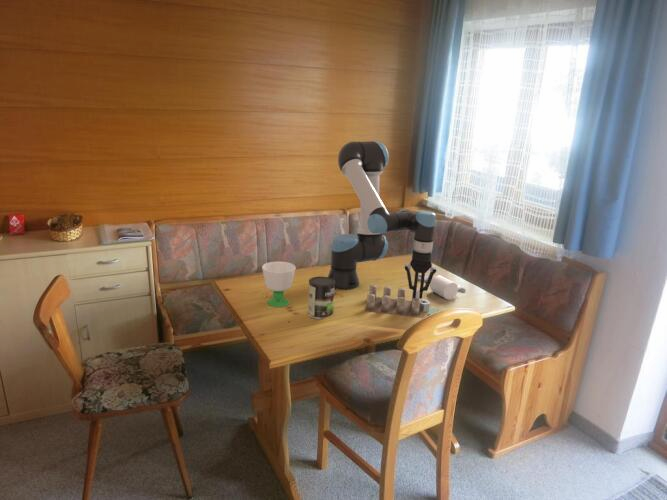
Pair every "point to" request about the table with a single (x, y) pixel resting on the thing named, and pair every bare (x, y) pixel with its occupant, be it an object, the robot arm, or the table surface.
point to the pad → (433, 310)
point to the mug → (444, 287)
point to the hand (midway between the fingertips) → (416, 305)
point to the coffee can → (321, 297)
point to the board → (392, 303)
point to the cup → (278, 281)
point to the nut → (424, 306)
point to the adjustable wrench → (427, 278)
